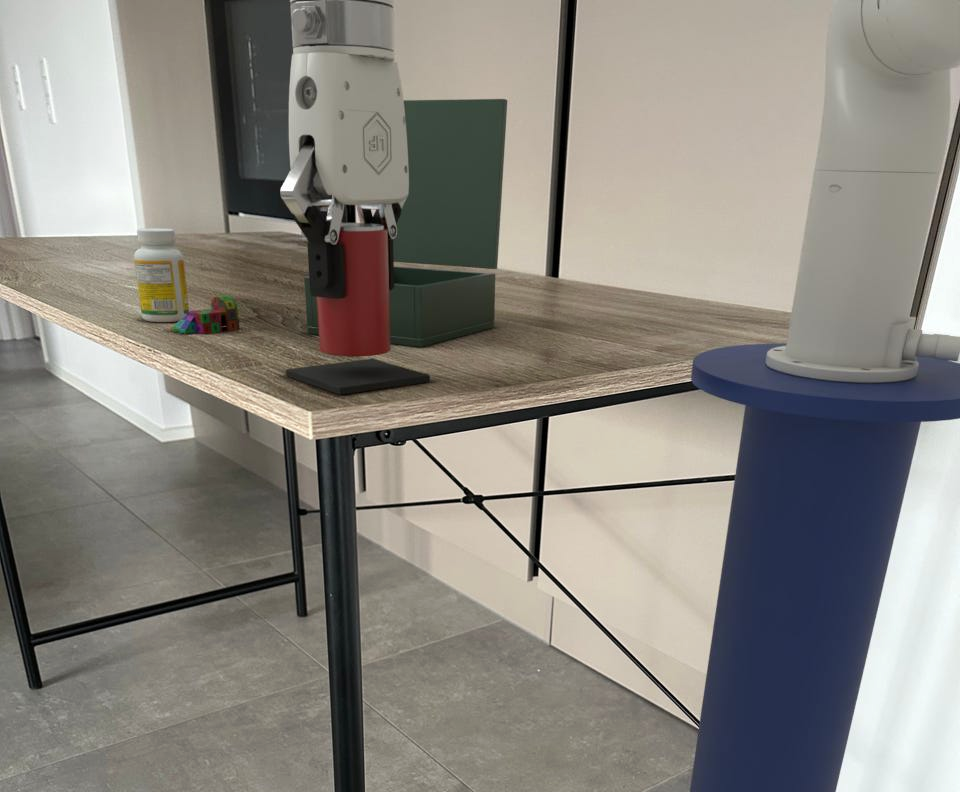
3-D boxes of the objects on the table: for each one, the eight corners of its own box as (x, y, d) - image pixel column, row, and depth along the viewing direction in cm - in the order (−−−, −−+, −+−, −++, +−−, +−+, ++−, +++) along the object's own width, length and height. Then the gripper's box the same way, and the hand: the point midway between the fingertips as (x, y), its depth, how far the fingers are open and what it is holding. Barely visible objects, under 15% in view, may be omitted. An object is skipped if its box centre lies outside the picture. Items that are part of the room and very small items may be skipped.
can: (404, 348, 81) (401, 224, 77) (363, 359, 76) (358, 228, 72) (347, 341, 84) (342, 221, 79) (305, 351, 79) (297, 224, 74)
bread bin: (421, 347, 95) (420, 286, 93) (307, 333, 102) (303, 276, 99) (494, 327, 108) (495, 273, 105) (388, 316, 114) (387, 265, 111)
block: (218, 325, 106) (214, 293, 104) (239, 329, 104) (236, 296, 102) (171, 330, 102) (166, 297, 100) (192, 335, 100) (188, 301, 98)
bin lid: (504, 98, 98) (523, 105, 102) (388, 100, 104) (410, 106, 108) (494, 269, 104) (512, 269, 108) (385, 261, 111) (406, 261, 114)
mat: (430, 382, 81) (430, 374, 80) (340, 395, 75) (339, 387, 75) (372, 365, 87) (372, 358, 86) (285, 376, 82) (285, 369, 81)
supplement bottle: (162, 324, 106) (150, 231, 101) (132, 319, 108) (119, 229, 104) (200, 318, 110) (190, 229, 105) (170, 314, 112) (159, 227, 108)
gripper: (310, 19, 61) (325, 308, 70) (446, 47, 75) (445, 286, 83) (223, 24, 65) (248, 300, 73) (369, 50, 78) (375, 280, 86)
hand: (353, 290), depth 78 cm, fingers closed on can, 6 cm apart
